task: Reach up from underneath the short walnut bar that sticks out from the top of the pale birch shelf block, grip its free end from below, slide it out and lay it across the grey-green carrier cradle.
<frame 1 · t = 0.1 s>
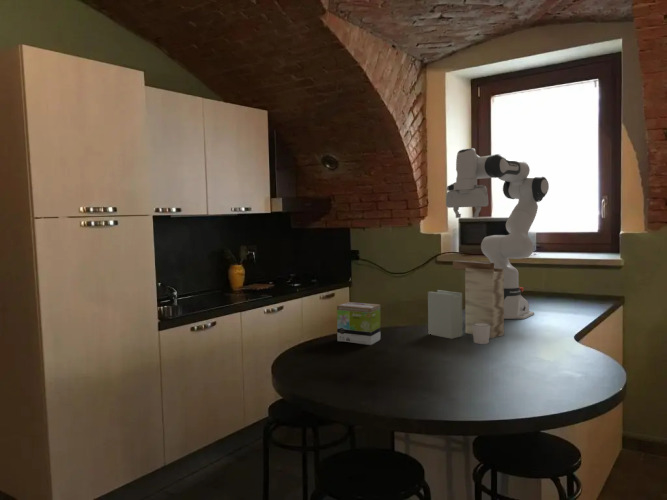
hand: (467, 217, 235), 48 cm above the worktop, tool pointing down, fingers open, 8 cm apart
shelf block: (484, 333, 222), on the worktop
walnut bar: (473, 270, 224), point 26 cm above the worktop, touching shelf block
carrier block: (445, 335, 221), on the worktop
grey cylindrical piece: (481, 342, 208), on the worktop
tea box: (359, 341, 214), on the worktop
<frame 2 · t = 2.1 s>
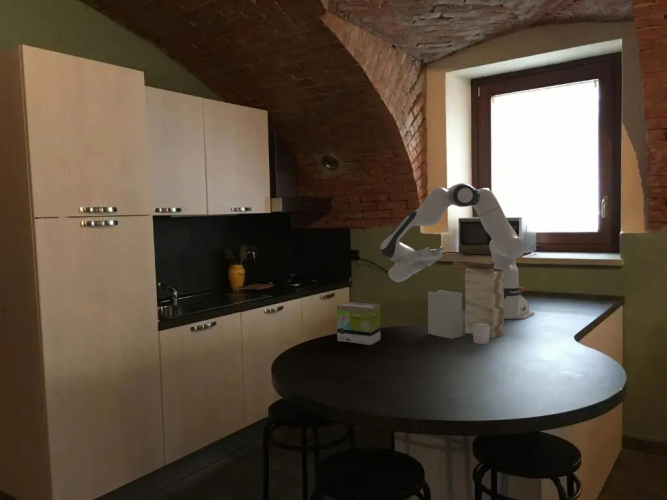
hand: (435, 248, 239), 35 cm above the worktop, tool pointing upward, fingers open, 8 cm apart
nothing on the worktop moved.
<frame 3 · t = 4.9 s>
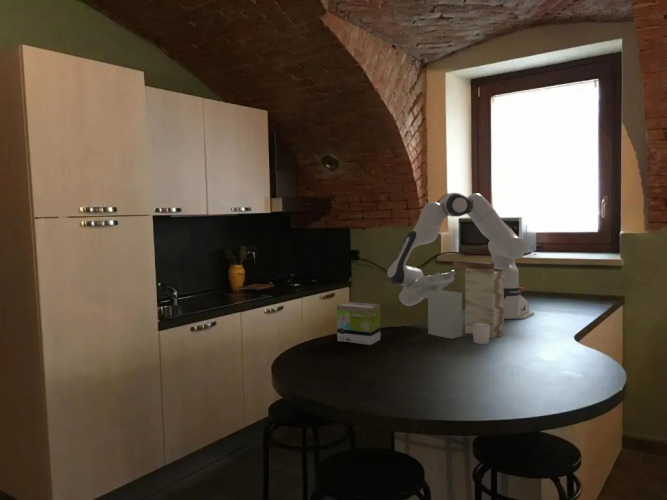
hand: (446, 272, 235), 24 cm above the worktop, tool pointing upward, fingers open, 8 cm apart
nothing on the worktop moved.
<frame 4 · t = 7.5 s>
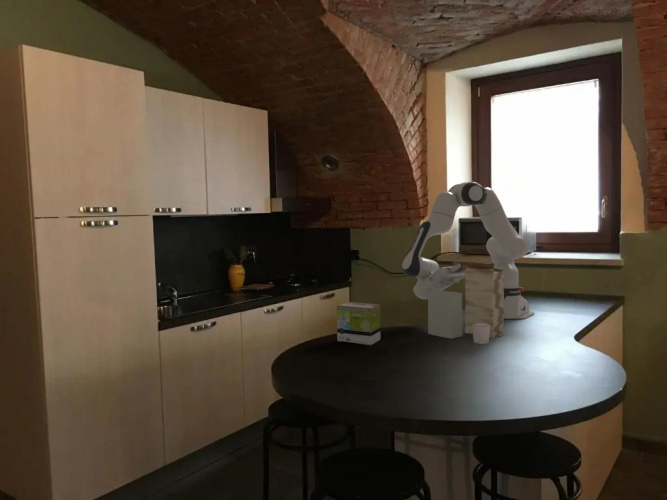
hand: (464, 264, 227), 28 cm above the worktop, tool pointing upward, fingers closed on walnut bar, 3 cm apart
walnut bar: (473, 270, 224), point 26 cm above the worktop, touching gripper, shelf block
everything else where it was.
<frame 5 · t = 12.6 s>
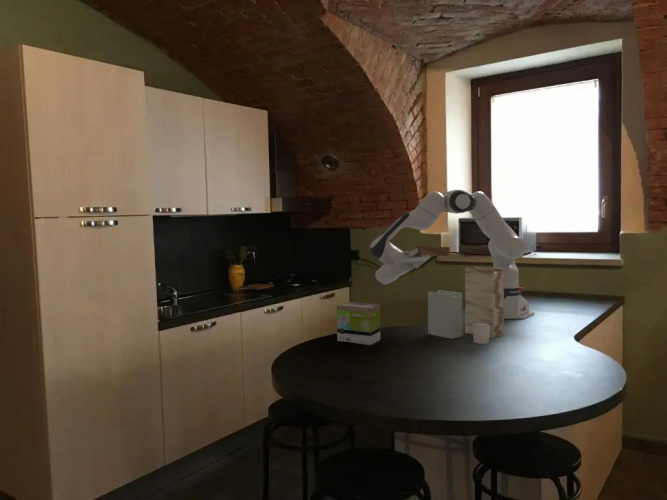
hand: (422, 249, 231), 35 cm above the worktop, tool pointing upward, fingers closed on walnut bar, 3 cm apart
walnut bar: (429, 254, 228), point 33 cm above the worktop, touching gripper
everything else where it was.
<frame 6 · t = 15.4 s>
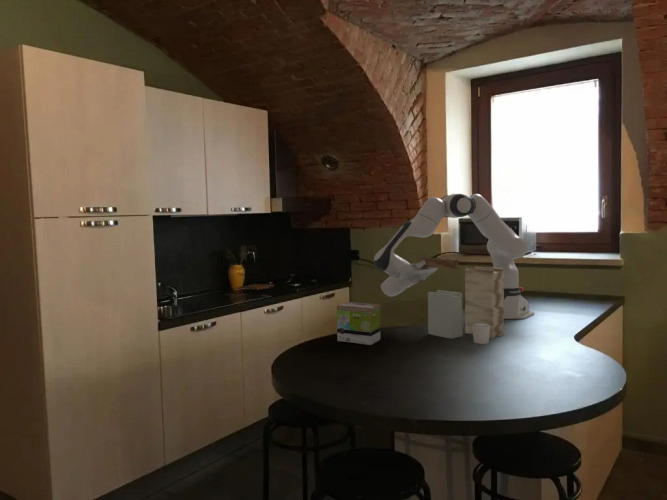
hand: (429, 261, 225), 30 cm above the worktop, tool pointing upward, fingers closed on walnut bar, 3 cm apart
walnut bar: (437, 267, 222), point 28 cm above the worktop, touching gripper
everything else where it was.
when the fingers open (20 cm above the worktop, at t = 17.8 s): walnut bar drops 2 cm, resting on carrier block.
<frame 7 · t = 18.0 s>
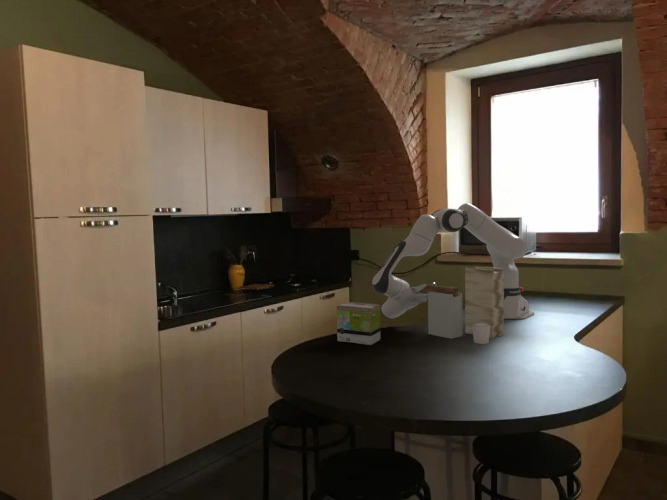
hand: (430, 284, 226), 20 cm above the worktop, tool pointing upward, fingers open, 5 cm apart
walnut bar: (437, 294, 223), point 16 cm above the worktop, touching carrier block
everything else where it was.
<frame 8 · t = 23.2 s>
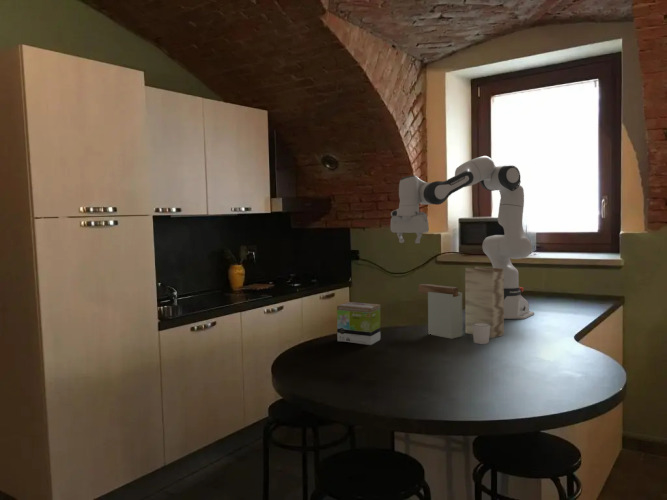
hand: (409, 242, 241), 37 cm above the worktop, tool pointing down, fingers open, 8 cm apart
nothing on the worktop moved.
at the end: walnut bar inside the target area on the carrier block (2.6 cm from its centre), point 16.5 cm above the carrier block's base; the gripper is holding nothing; walnut bar touching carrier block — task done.
